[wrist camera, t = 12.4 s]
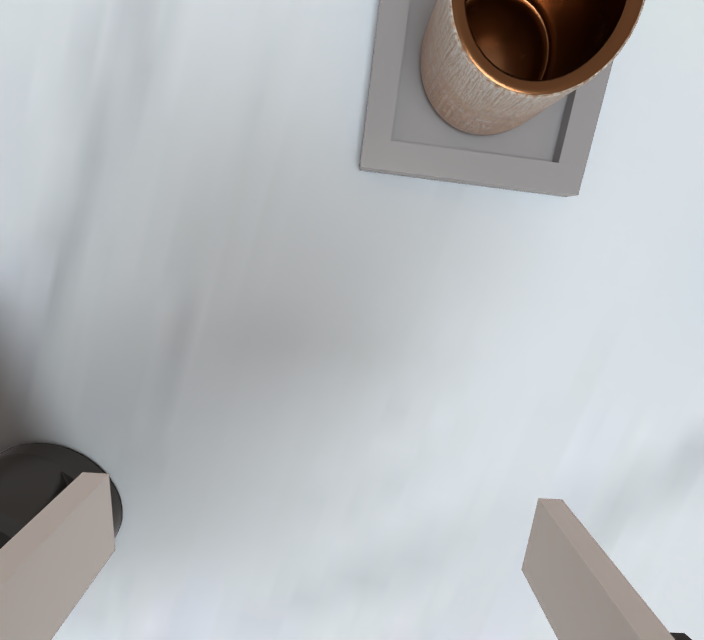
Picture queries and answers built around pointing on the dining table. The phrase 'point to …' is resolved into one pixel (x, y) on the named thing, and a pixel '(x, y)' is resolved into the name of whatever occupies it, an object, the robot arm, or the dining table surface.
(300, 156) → the dining table surface
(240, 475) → the dining table surface
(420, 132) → the grey tray
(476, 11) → the planter
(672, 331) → the dining table surface
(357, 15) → the dining table surface
